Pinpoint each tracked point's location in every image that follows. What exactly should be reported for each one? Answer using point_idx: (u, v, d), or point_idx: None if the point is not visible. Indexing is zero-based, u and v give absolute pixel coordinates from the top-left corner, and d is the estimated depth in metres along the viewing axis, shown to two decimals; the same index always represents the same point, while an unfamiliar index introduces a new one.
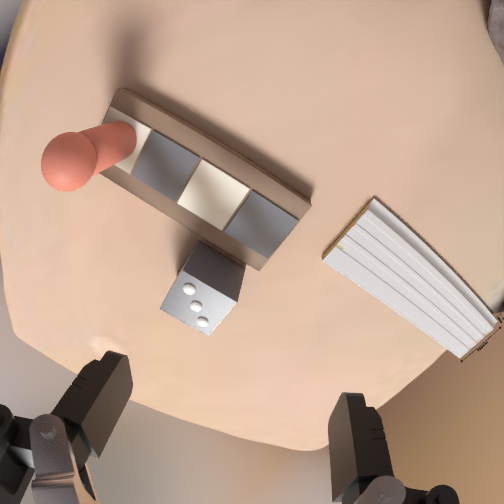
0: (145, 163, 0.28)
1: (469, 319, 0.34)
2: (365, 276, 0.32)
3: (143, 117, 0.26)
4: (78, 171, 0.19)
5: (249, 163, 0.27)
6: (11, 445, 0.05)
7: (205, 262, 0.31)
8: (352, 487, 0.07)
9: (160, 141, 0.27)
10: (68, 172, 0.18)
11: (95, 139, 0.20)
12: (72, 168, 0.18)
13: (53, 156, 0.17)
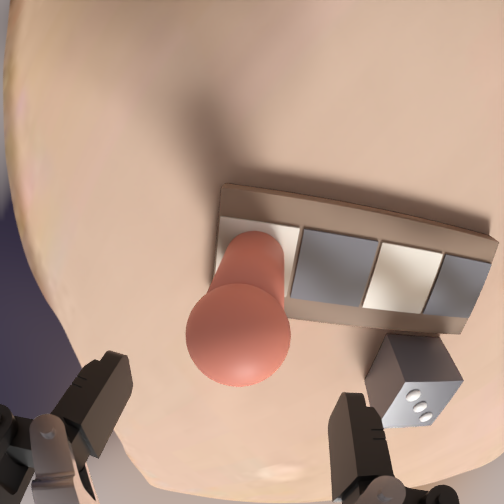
0: (306, 276, 0.21)
1: None
2: None
3: (281, 215, 0.20)
4: (281, 350, 0.12)
5: (433, 224, 0.19)
6: (11, 445, 0.05)
7: (411, 356, 0.22)
8: (352, 487, 0.07)
9: (319, 240, 0.20)
10: (268, 361, 0.11)
11: (263, 281, 0.14)
12: (272, 352, 0.11)
13: (226, 347, 0.11)
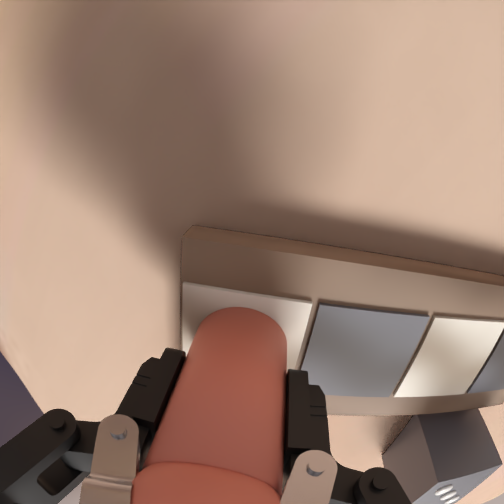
0: (318, 367, 0.13)
1: None
2: None
3: (282, 283, 0.12)
4: None
5: (500, 283, 0.11)
6: (66, 453, 0.06)
7: (446, 441, 0.14)
8: (288, 460, 0.08)
9: (343, 320, 0.12)
10: None
11: (246, 453, 0.06)
12: None
13: None
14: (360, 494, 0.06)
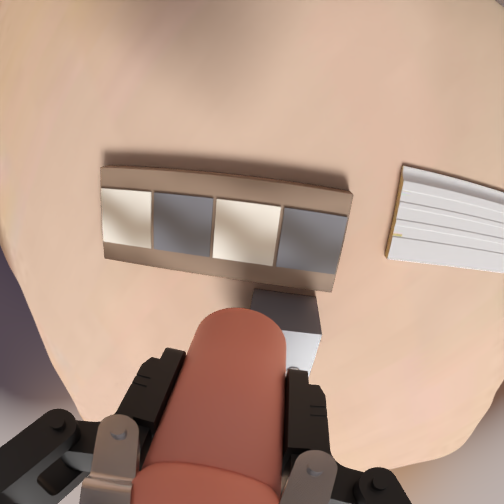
0: (161, 230, 0.26)
1: None
2: (438, 251, 0.25)
3: (138, 184, 0.25)
4: None
5: (267, 180, 0.24)
6: (66, 453, 0.06)
7: (269, 307, 0.27)
8: (288, 460, 0.08)
9: (166, 200, 0.25)
10: None
11: (245, 453, 0.06)
12: None
13: None
14: (360, 494, 0.06)
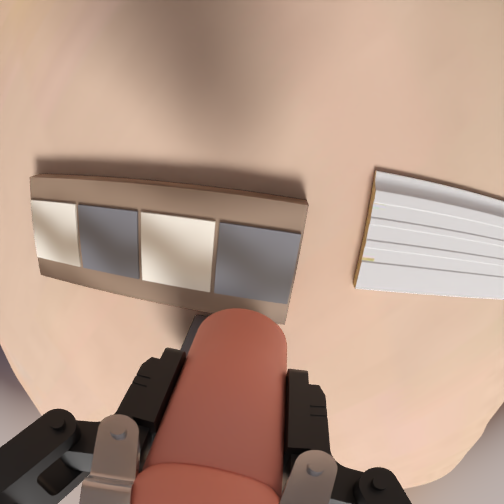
0: (88, 247, 0.21)
1: None
2: (422, 278, 0.21)
3: (63, 195, 0.20)
4: None
5: (199, 188, 0.19)
6: (66, 453, 0.06)
7: None
8: (287, 460, 0.08)
9: (89, 213, 0.20)
10: None
11: (246, 454, 0.06)
12: None
13: None
14: (360, 494, 0.06)
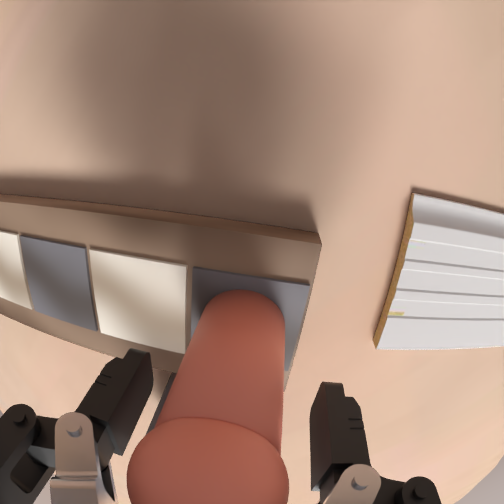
0: (36, 288, 0.15)
1: None
2: (459, 331, 0.14)
3: (5, 222, 0.14)
4: None
5: (163, 218, 0.13)
6: (32, 446, 0.06)
7: None
8: (328, 475, 0.07)
9: (33, 247, 0.14)
10: None
11: (248, 409, 0.08)
12: None
13: None
14: (401, 500, 0.05)
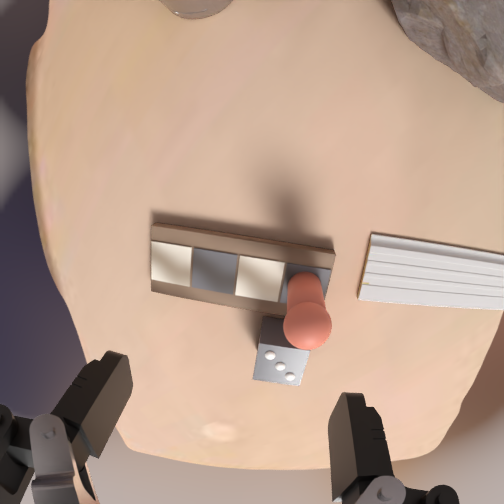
0: (198, 274, 0.37)
1: None
2: (398, 294, 0.36)
3: (181, 240, 0.36)
4: (329, 331, 0.27)
5: (276, 243, 0.35)
6: (11, 445, 0.05)
7: (274, 330, 0.37)
8: (352, 487, 0.07)
9: (202, 254, 0.36)
10: (323, 335, 0.26)
11: (318, 300, 0.29)
12: (325, 331, 0.26)
13: (308, 329, 0.26)
14: None
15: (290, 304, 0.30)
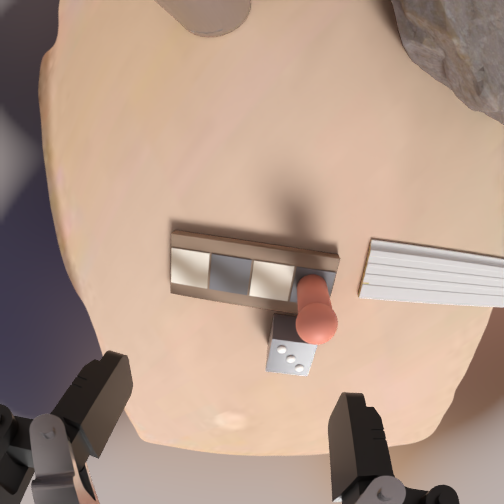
0: (215, 277, 0.41)
1: (494, 276, 0.37)
2: (395, 292, 0.40)
3: (200, 247, 0.40)
4: (335, 328, 0.31)
5: (286, 249, 0.39)
6: (11, 445, 0.05)
7: (285, 326, 0.41)
8: (352, 487, 0.07)
9: (220, 259, 0.40)
10: (331, 332, 0.30)
11: (325, 301, 0.33)
12: (333, 328, 0.31)
13: (318, 327, 0.30)
14: None
15: (301, 304, 0.34)
